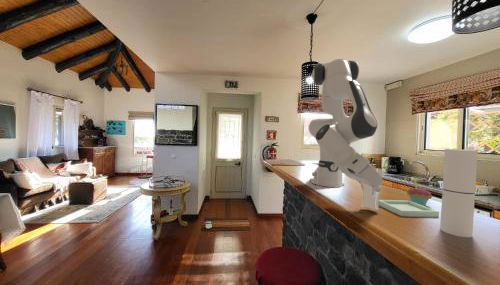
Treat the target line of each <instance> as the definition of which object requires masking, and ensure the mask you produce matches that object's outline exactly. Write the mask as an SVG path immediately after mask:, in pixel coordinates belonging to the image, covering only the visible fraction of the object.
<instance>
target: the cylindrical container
mask: <svg viewBox="0 0 500 285" xmlns="http://www.w3.org/2000/svg"><path fill="white" fill-rule="evenodd" d="M478 152H479V151H478V150H477V149H458V148H457V149H456V148H455V149H454V148H445V149H444V159H443V174H442V175H443V176H442V178H443V179H442V194H441V209H440V212H441V213H440V225H439V229H440V230H441V231H442V232H444V233H445V234H448V235H452V236H456V237H459V238H472V237H473V229H474V216H475V201H476V200H475V198H476V197H475V196H476V183H477V171H478V170H477V168H478V154H479V153H478Z"/></svg>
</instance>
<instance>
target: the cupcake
mask: <svg viewBox="0 0 500 285" xmlns="http://www.w3.org/2000/svg"><path fill="white" fill-rule="evenodd" d="M414 186H415V187H411V188H409V189H408V190H407V191H406V194H407V196H409V199H410V201H412V202H414V203H417V204H420V205H422V206H425V207H426V205H427V203H428V201H429V200H430V199H432V197H433V196H432V193H431V192H430V191H429V190H428V189H426V188H421V187H418V183H417V177H414Z"/></svg>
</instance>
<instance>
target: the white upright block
mask: <svg viewBox="0 0 500 285" xmlns="http://www.w3.org/2000/svg"><path fill="white" fill-rule="evenodd" d="M374 169H375V170H376V171H377V172H378V173H379V175H380V176H381V177H382V168H377V167H374ZM360 186H361V194H362V200H361V204H360V207H362V208H364V209H369V210H377V211H378V210H380V206H379V204H378V200H379V195H380V192H375V191H374V190H373V187H372V186H370V185H367V184H364V183H362V182H361V184H360ZM381 186H382V184H380V185H379V187H380V189H382V188H381Z"/></svg>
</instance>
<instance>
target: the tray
mask: <svg viewBox="0 0 500 285" xmlns="http://www.w3.org/2000/svg"><path fill="white" fill-rule="evenodd" d="M378 204H379V207H382V208H383V209H385V210H388V211H390V212H391V213H394V214H396V215H398V216H400V217H411V218H413V217H418V218H439V215H440V211H438V210H436V209H433V208H431V207H428V206H426V205H425V206H422V205H420V204H417V203H414V202H412V201H411V200H404V199H403V200H400V199H399V200H397V199H396V200H395V199H394V200H393V199H378Z"/></svg>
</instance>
